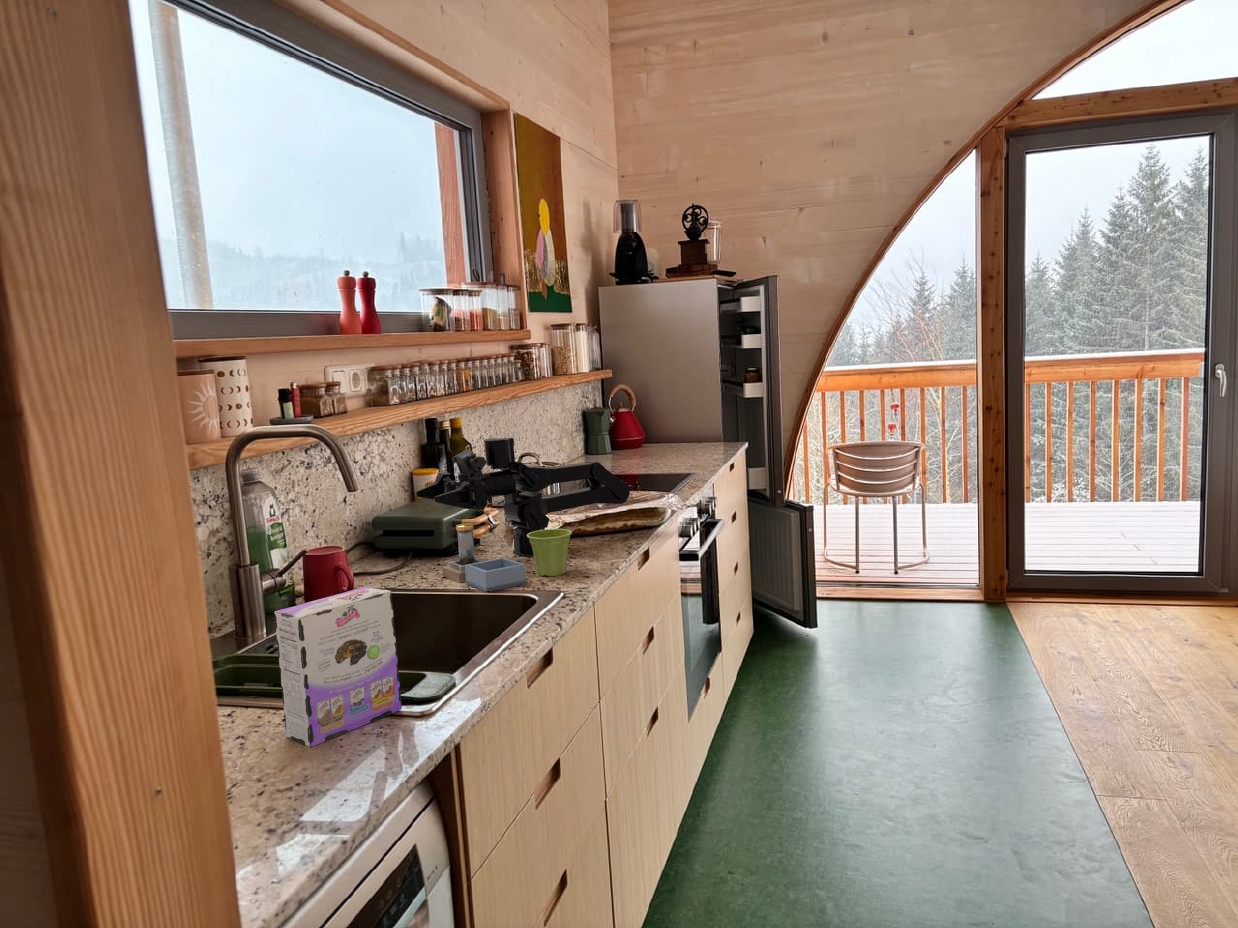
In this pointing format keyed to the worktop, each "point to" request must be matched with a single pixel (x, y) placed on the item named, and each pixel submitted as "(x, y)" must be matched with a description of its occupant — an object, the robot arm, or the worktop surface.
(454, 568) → the beige shallow open box
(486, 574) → the bin
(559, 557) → the plant pot
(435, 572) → the worktop surface
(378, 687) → the candy box
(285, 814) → the worktop surface
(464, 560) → the glass spice jar
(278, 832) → the worktop surface
